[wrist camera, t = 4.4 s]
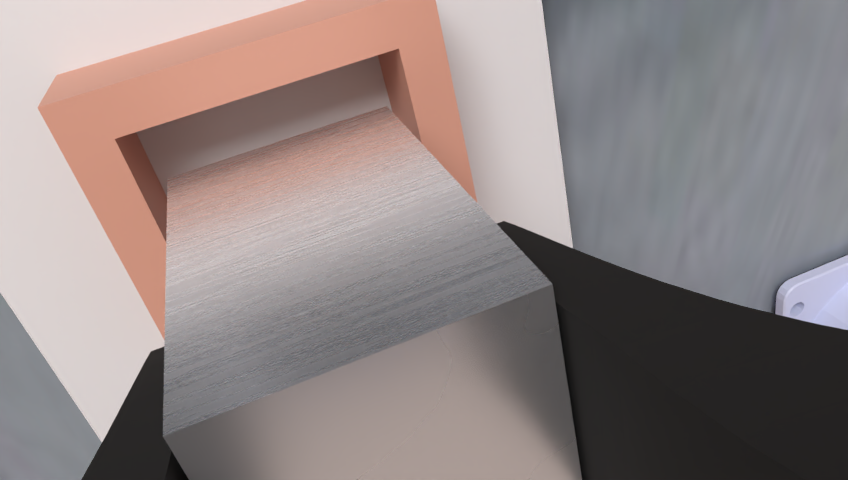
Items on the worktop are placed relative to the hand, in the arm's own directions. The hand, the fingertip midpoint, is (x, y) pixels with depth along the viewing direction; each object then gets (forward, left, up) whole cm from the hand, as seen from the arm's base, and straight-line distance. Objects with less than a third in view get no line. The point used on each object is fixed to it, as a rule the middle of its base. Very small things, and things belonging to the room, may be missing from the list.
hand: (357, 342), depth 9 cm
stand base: (0, 0, -7) cm, 7 cm away
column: (0, 0, -3) cm, 3 cm away
